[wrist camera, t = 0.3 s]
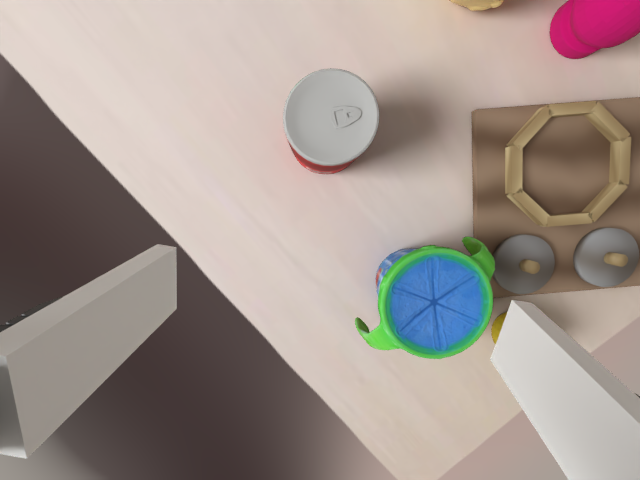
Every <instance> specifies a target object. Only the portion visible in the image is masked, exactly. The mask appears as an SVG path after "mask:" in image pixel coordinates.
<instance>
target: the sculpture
mask: <svg viewBox="0 0 640 480" xmlns="http://www.w3.org/2000/svg"><path fill="white" fill-rule="evenodd" d="M450 1H451V2H453V3H455V4H458V5H461V6H465V7H467V8H468V9H469V10H472V11H476V10H486V9H489V8H496V7H499V6H500V5H501V4H502V3H503V1H504V0H450Z"/></svg>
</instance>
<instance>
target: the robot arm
mask: <svg viewBox="0 0 640 480" xmlns="http://www.w3.org/2000/svg"><path fill="white" fill-rule="evenodd" d="M176 282H177V279H176V247H172V246H165V245H159V244H157V245H155V246H154V247H152V248H150V249H148V250H146V251H145V252H143V253H141V254H139V255H138V256H136V257H134V258H133V259H130V260H129V261H127V262H125V263H123V264H122V265H120V266H118V267H116V268H114V269H113V270H111V271H109V272H107V273H106V274H104V275H102V276H100V277H98V278H97V279H95V280H93V281H91V282H89V283H88V284H86V285H84V286H82V287H80V288H79V289H77V290H75V291H73V292H72V293H70V294H68V295H66V296H64V297H60V298H57V299H54V300H51V301H48V302H45V303H42V304H39V305H37V306H36V307H34V308H32V309H30V310H28V311H26V312H25V313H23V314H22V315H21V316H17V317H15V318H13V319H12V320H10V321H8V322H6V324H5V325H0V454H4V455H10V456H15V457H20V458H26V459H27V458H28V457H29V456H30V455H31V454H32V453H33V452H34V451H35V450H36V449H37V448H38V447H39V446H40V445H41V444H42V443H43V442H44V441H45V440H46V439H47V438H48V437H49V436H50V435H51V434H52V433H53V432H54V431H55V430H56V429H57V428H58V427H59V426H60V425H61V424H62V423H63V422H64V421H65V420H66V419H67V418H68V417H69V416H70V415H71V414H72V413H73V412H74V411H75V410H76V409H77V408H78V407H79V406H80V405H81V404H82V403H83V402H84V401H85V400H86V399H87V398H88V397H89V396H90V395H91V394H92V393H93V392H94V391H95V390H96V389H97V388H98V387H99V386H100V385H101V384H102V383H103V382H104V381H105V380H106V379H107V378H108V377H109V376H110V375H111V374H112V373H113V372H114V371H115V370H116V369H117V368H118V367H119V366H120V365H121V364H122V363H123V362H124V360H126V359H127V358H128V357H129V356H130V355H131V354H132V353H133V352H134V351H135V350H136V349H137V348H138V347H139V346H140V345H141V344H142V343H143V342H144V341H145V340H146V339H147V337H149V336H150V335H151V334H152V333H153V332H154V331H155V330H156V329H157V328H158V327H159V326H160V324H162V323H163V321H165V320H166V319H167V318H168V317H169V316H170V315H171V314H172V313H173V312H174V310H176V309H177V286H176V285H177V283H176ZM490 360H491V361H492V363H493V365H494V366H495V368H496V369H497V371H498V372H499V374H500V375H501V377H502V378H503V380H504V381H505V383H506V384H507V386H508V388H509V389H510V391H511V392H512V394H513V395H514V397H515V398H516V400H517V401H518V403H519V404H520V406H521V407H522V409H523V411H524V412H525V414H526V415H527V417H528V418H529V420H530V421H531V422H532V424H533V426H534V427H535V429H536V430H537V432H538V433H539V435H540V437H541V438H542V440H543V441H544V443H545V444H546V446H547V447H548V449H549V450H550V452H551V453H552V455H553V456H554V458H555V460H556V461H557V463H558V464H559V466H560V467H561V469H562V470H563V472H564V473H565V475H566V476H567V478H568V480H640V396H638V395H637V394H635V393H633V392H632V391H631V390H630V389H629V388H628V387H627V386H626V385H624V384H623V383H622V382H621V381H620V380H619V379H617V378H616V377H615V376H614V375H613V374H612V373H611V372H610V371H609V370H608V369H606V368H605V367H604V366H603V365H602V364H601V363H600V362H599V361H597V360H596V359H595V358H594V357H593V356H592V355H591V354H589V353H588V352H587V351H586V350H585V349H584V348H583V347H582V346H580V345H579V344H578V343H577V342H576V341H575V340H574V339H572V338H571V337H570V336H569V335H568V334H567V333H566V332H565V331H563V330H562V329H561V328H560V327H559V326H558V325H557V324H556V323H554V322H553V321H552V320H551V319H550V318H549V317H548V316H546V315H545V314H544V313H543V312H542V311H541V310H540V309H539V308H537V307H536V306H535V305H534V304H533V303H529V302H523V301H517V300H512V301H511V304H510V306H509V309H508V312H507V315H506V317H505V320H504V323H503V326H502V329H501V331H500V334H499V337H498V340H497V342H496V345H495V348H494V351H493V353H492V356H491V359H490Z"/></svg>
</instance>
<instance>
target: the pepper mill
mask: <svg viewBox="0 0 640 480" xmlns="http://www.w3.org/2000/svg"><path fill="white" fill-rule="evenodd" d="M639 32H640V0H569V1H567V2H566V3H565V4H564V5H562V6H561V7H560V8H559V9H558V10H557V12H556V13H555V15H554V17H553V19H552V22H551V27H550V38H551V42H552V44H553V46H554V48H555V49H556V50H557V51H558V53H559V54H561V55H563V56H564V57H567V58H571V59H579V58H583V57H586V56H588V55H590V54H592V53H594V52H595V51H597V50H599V49H601V48H609V47H613V46H616V45H619V44H621V43H624V42H625V41H627V40H629V39H630V38H632V37H634V36H635V35H637V34H638V33H639Z"/></svg>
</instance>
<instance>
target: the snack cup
mask: <svg viewBox="0 0 640 480" xmlns="http://www.w3.org/2000/svg"><path fill="white" fill-rule="evenodd" d="M462 242H463V244H464V246H465V247H466V248H467V250H468V251H469V252H470V253H471V254H472V256H467V255H465V254H463V253H461V252H459V251H456V250H454V249H450V248H446V247H437V246H435V245H429V246H423V247H421V248H420V249H401V250H399V251H396V252H394V253H392V254H390V255H389V256H388V257H387V258H386V259H385V260H384V261H383V262H382V263H381V265H380V266H379V268H378V271H377V275H376V288H377V293H378V309H379V314H380V319H381V321H380V324H379V326H378V327H377V328H376V329H374V330H373V331H371V332H369V329H368V327H367V325H366V324H365V323H364V322H363V321H362V320H361V319H360V318H356V319H355V325H356V328H357V330H358V331H359V333H360V335H361V336H362V337H363V338H364V339H365V340H366V342H367V343H368V344H369V345H370V346H371V347H373V348H375V349H379V350H391V349H399V348H401V349H404V350H405V351H407V352H409V353H411V354H413V355H416V356H418V357H423V358H433V359H441V358H445V357H449V356H453V355H455V354H458V353H460V352H462V351H464V350H465V349H467V348H468V347H470V346H471V345H472V344H473V343H474V342H475V341H477V340H478V338H479V337H480V336H481V335H482V333H483V332H484V330H485V329H486V327H487V325H488V323H489V320H490V317H491V313H492V308H493V293H492V288H491V284H490V280H491V277H492V275H493V273H494V270H495V260H494V258H493V256H492V254H491V253H490V252H489V251H488V249H487V247H486V246H485V245H484V244H483V243H482V242H480V241H479V240H477V239H475V238H472V237H464V238H463V240H462Z"/></svg>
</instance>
